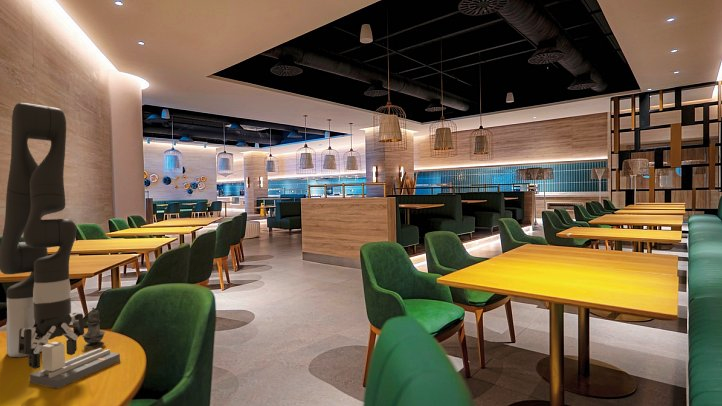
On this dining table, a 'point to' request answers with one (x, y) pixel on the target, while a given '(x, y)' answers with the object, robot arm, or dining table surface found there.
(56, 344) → the fader tab
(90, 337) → the dark grey statuette
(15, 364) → the dining table surface
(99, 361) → the grey ridged rail base
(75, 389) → the dining table surface
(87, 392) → the dining table surface
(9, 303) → the robot arm
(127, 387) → the dining table surface
